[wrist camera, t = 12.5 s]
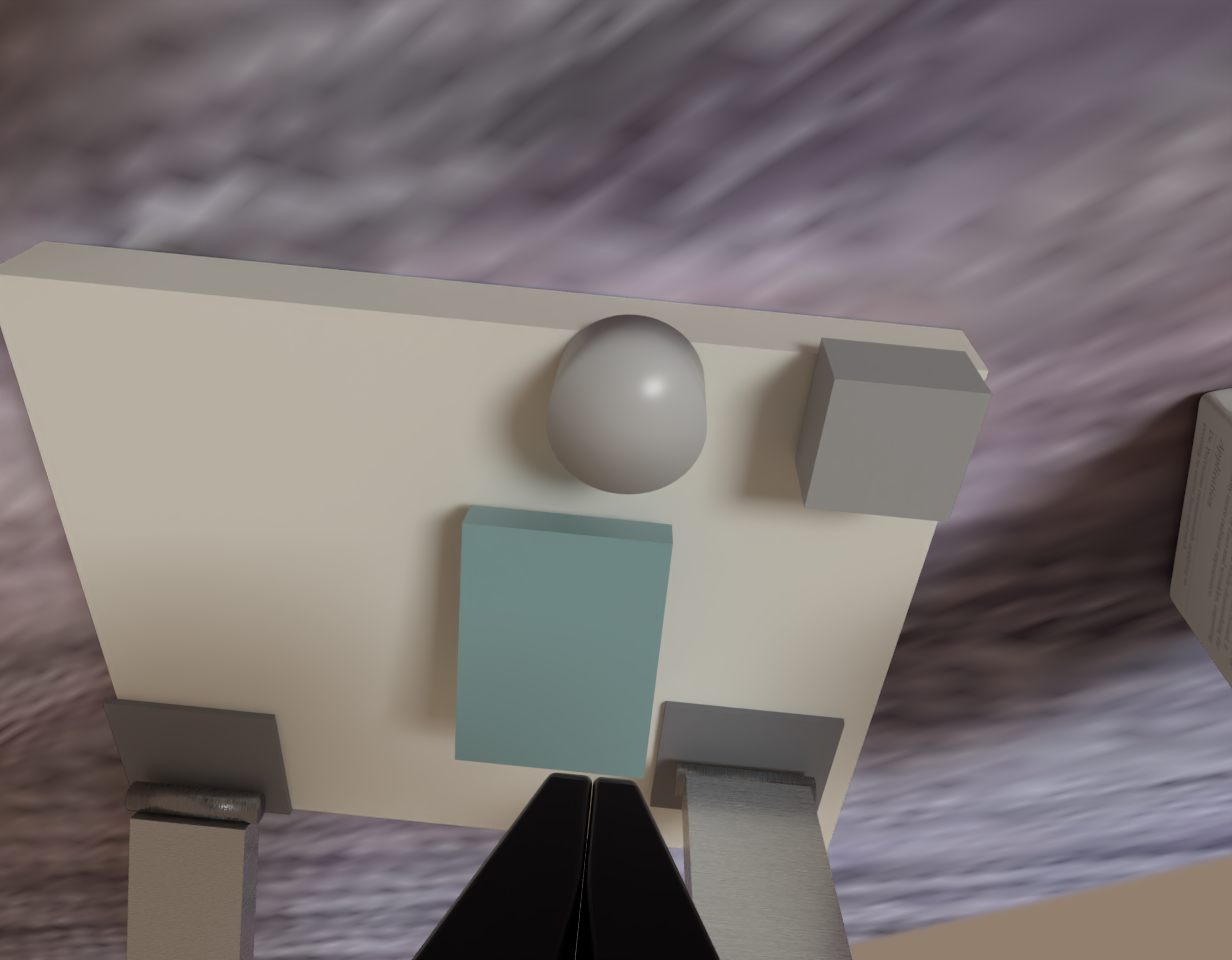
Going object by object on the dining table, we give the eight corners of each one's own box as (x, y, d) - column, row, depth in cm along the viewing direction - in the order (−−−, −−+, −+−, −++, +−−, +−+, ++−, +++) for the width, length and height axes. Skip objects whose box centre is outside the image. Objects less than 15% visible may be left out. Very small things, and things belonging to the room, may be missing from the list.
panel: (29, 239, 20) (-59, 285, 17) (961, 330, 19) (1000, 389, 17) (169, 740, 28) (122, 816, 26) (814, 805, 28) (827, 887, 26)
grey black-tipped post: (680, 734, 24) (694, 1069, 15) (817, 748, 24) (909, 1091, 15) (671, 802, 24) (679, 1156, 16) (803, 815, 24) (882, 1177, 16)
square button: (821, 337, 18) (834, 378, 16) (965, 351, 18) (992, 393, 16) (794, 459, 19) (804, 508, 18) (926, 472, 19) (948, 522, 18)
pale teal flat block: (471, 504, 20) (462, 522, 19) (671, 524, 20) (672, 544, 19) (463, 732, 22) (454, 759, 21) (644, 751, 22) (643, 778, 21)
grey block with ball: (110, 801, 24) (104, 1102, 26) (244, 814, 24) (231, 1115, 25) (154, 764, 26) (146, 1044, 28) (276, 776, 26) (263, 1056, 28)
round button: (560, 307, 17) (549, 345, 16) (714, 322, 17) (717, 362, 16) (553, 440, 19) (543, 486, 18) (694, 454, 19) (696, 501, 18)
